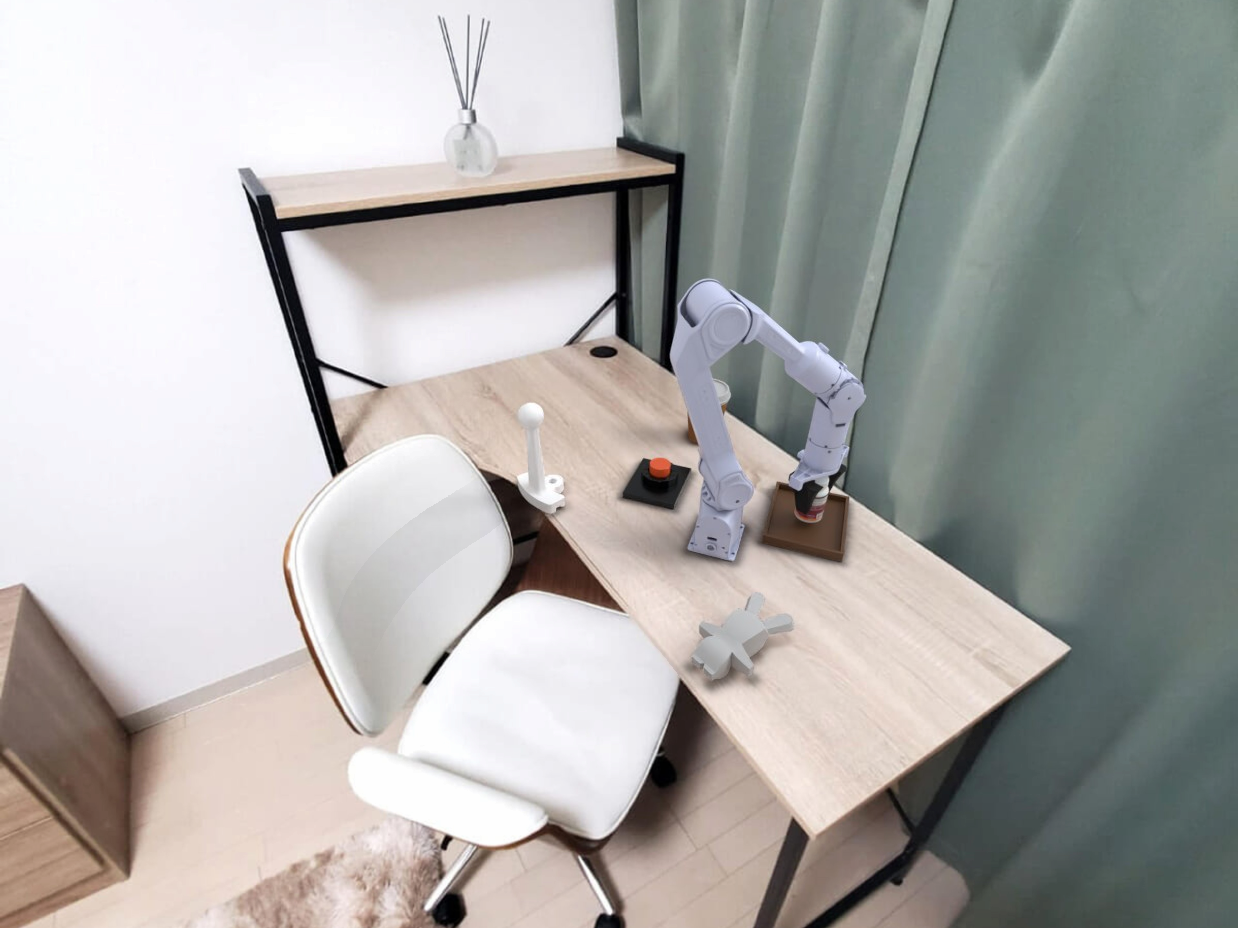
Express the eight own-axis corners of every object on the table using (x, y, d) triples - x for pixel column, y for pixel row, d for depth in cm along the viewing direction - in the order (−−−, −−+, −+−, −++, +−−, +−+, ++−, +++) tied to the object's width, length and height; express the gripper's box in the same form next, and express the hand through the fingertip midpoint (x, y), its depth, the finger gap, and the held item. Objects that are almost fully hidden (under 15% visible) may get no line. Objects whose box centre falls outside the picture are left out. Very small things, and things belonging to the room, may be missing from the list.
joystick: (512, 488, 115) (501, 396, 104) (545, 473, 119) (537, 382, 108) (545, 517, 108) (537, 422, 97) (579, 500, 112) (575, 407, 101)
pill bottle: (790, 507, 108) (798, 469, 103) (816, 505, 108) (825, 468, 103) (798, 524, 104) (807, 486, 99) (825, 523, 104) (835, 484, 99)
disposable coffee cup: (674, 441, 128) (677, 392, 121) (691, 421, 135) (695, 373, 128) (716, 453, 125) (722, 403, 118) (731, 432, 132) (738, 383, 125)
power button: (666, 479, 113) (667, 471, 112) (646, 475, 114) (646, 467, 113) (672, 468, 116) (673, 459, 115) (653, 463, 117) (653, 455, 116)
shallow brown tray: (841, 562, 99) (843, 554, 98) (761, 542, 103) (762, 535, 102) (847, 504, 112) (849, 496, 110) (775, 488, 115) (777, 481, 114)
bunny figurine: (676, 635, 82) (751, 576, 89) (677, 656, 85) (749, 598, 92) (728, 683, 76) (804, 616, 83) (727, 703, 79) (800, 637, 86)
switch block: (673, 510, 110) (674, 497, 108) (622, 498, 113) (622, 485, 111) (690, 473, 119) (692, 461, 117) (643, 463, 122) (643, 451, 120)
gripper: (829, 413, 103) (814, 477, 111) (778, 445, 95) (766, 511, 103) (866, 430, 99) (848, 495, 107) (817, 464, 91) (801, 531, 99)
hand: (810, 504), depth 105 cm, fingers closed on pill bottle, 5 cm apart
